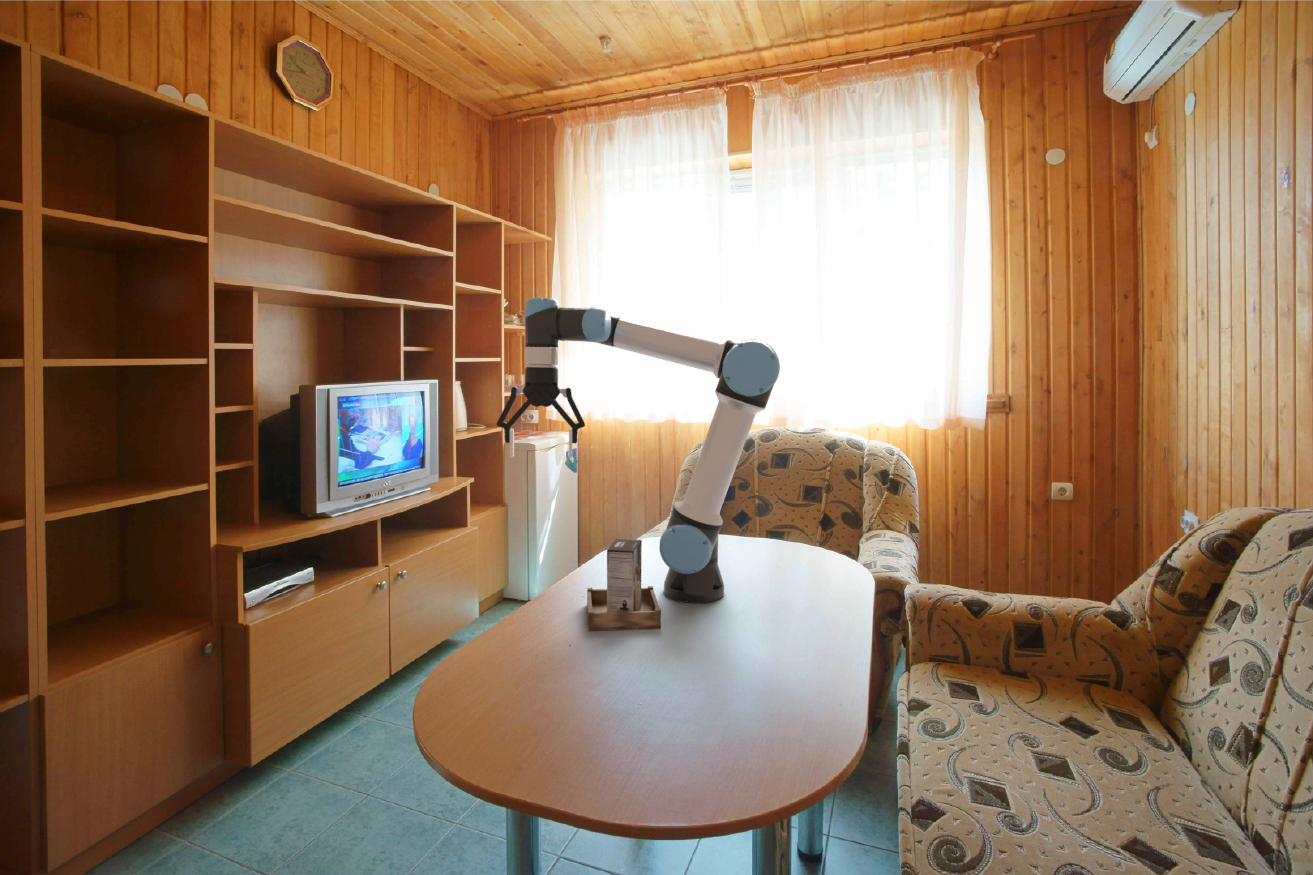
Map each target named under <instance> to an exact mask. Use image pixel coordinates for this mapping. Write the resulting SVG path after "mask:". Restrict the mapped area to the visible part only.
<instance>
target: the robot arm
mask: <svg viewBox="0 0 1313 875" xmlns="http://www.w3.org/2000/svg"><path fill="white" fill-rule="evenodd" d="M524 330H525V331H524V334H525V335H524V337H525V338H524V339H525V340H524V341H525V344H524V346H525V347H524V364H525V365H527V367H525V368H524V369H525V370H524V374H525V375H524V387H517V386H512V387H511V389H510V396H509V398H508V401H507V402H506V404H505V405H504V408H503V410H502V412H501V414H500V416H499V417H498V420H497V422H496V426H497V427H500V428H502V429H504V442H505V444H509V458H511V459H513V458H514V456H515V428H512V426H513V425H514V424H515V422H516V421H517V420H518V419H520V417H521V416H522V414H524V413H525V412H526V410H527V409H528V408H529V407H530V406H533V407H536V408H537V407H545V408H548V407H551V406H552V407H553V408H554V409H555V410H556V411H557V412H558V414H560V416H561V417H562V419H564V421H565V422H566V424H568V425H569V426H570V427H571V428H570V429H568V458H569V459H573V444H577V443H578V430H580V429H582V428H584V427H585V426H586V424H585V420H584V419H583V417H582V415H581V412H580V410H579V409H578V407H577V404H576V403H575V401H574V398H573V395H572V388H571V387H566V388H559V369H558V367H557V366H558V364H559V341H561V342H562V341H563V342H570V341H571V342H587V343H597V344H600V345H605V346H609V347H612V348H618V349H620V350H621V349H622V350H624V351H628V352H632V353H636V354H640V355H644V356H648V357H652V358H656V359H660V360H663V361H668V362H671V363H675V364H679V365H682V366H686V367H691V368H694V369H698V370H702V371H706V372H710V373H713V375H714V377H715V378H716V379H718V382H717V385H716V387H715V391H714V392H715V394H716V397H717V400H718V401H717V403H718V404H717V406H716V408H715V411H714V414H713V417H712V418H711V419H712V420H711V422H710V424H709V427H708V430H707V433H706V435H705V439H704V442H703V445H702V448H701V451H700V453H699V456H698V459H697V461H696V465H695V466H694V467H695V468H694V470H693V473H692V475H691V478H690V481H689V484H688V486H687V490H686V493H685V495H684V498H683V500H680V501H677V502H674V503H673V505H672V506H671V507H672V509H671V512H670V514H671V515H670V518H669V520H668V522H667V526H666V528H665V530H664V532H663V533H662V535H661V536H660V540H659V554H660V557H661V559H662V561H663V562H664V564H665V565H666V566H667V567H668V570H667V572H666V573H667V574H666V575H665V579H664V584H663V593H664V595H665V596H666V597H667V598H670V599H672V600H674V601H677V602H684V603H691V604H692V603H697V604H698V603H710V602H714V601H717V600H720V599H721V598H723V597H724V595H725V584H724V580H723V576H722V574H721V570H720V566H719V563H718V562H719V560H718V559H719V558H718V557H719V534H720V531H721V529H722V526H723V522H724V520H723V518H722V516H721V514H720V513H721V509H722V506H723V505H724V501H725V498H726V496H727V492H728V490H729V487H730V484H731V482H732V481H733V480H732V479H733V477H734V475H735V471H736V468H737V466H738V463H739V460H740V458H741V455H742V452H743V449H744V447H745V444H746V442H747V439H748V436H749V433H750V430H751V428H752V425H753V423H754V420H755V416H756V414H758V413H760V412H762V411H764V410H765V409H766V407H767V404H768V402H769V399H770V396H771V394H772V391H773V388H774V386H775V383H776V382H777V381H778V380H777V379H778V377H779V375H780V370H781V369H780V368H781V366H780V360H779V359H780V358H779V357H778V354H777V353H776V351H775V349H774V348H773V347H772V346H771V345H769V344H768V343H766V342H764V341H762V340H757V339H746V340H745V339H744V340H741V341H740V340H739V341H738V340H735V339H734V340H733V339H729V338H725V339H724V340H721V341H720V340H716V339H711V338H708V337H703V336H699V335H695V334H692V333H687V332H684V331H679V330H675V329H672V328H667V327H663V326H659V325H656V324H651V323H647V322H643V321H639V320H635V319H631V318H628V317H624V316H623V317H621V316H619V315H614V314H610V311H609V310H608V309H607V308H603V307H602V308H601V307H595V306H594V307H561V306H560V304H559V301H558V300H557V299H556V298H550V297H549V298H548V297H532V298H528V299H527V300H526V302H525V312H524ZM522 393H523V395H524V396H525V398H526V400H525V402H524V403H523V404H522V405H521V406H520V408H519V409H518V410H517V411H515V414H514V415H513V416H512V417H511V418H510V419H509V421H507V422H505V420H506V419H507V417H508V415H509V413H510V411H511V408H512V407H513V405H514V402H515V401H516V399H517V398H518V397H520V396H521V394H522ZM560 394H561V395H562V397H564V398H566V399H567V402H568V404H569V407H570V408H571V410H572V412H573V414H574V416H575V418H576V420H577V422H575V421H574V420H573V419H572V417H571V416H570V415H569V414H568V413H567V411H566V410H565V409H564V408H563V407H562V405H561V404H560V402H558V400H556V399H557V398H558V397H559V395H560Z"/></svg>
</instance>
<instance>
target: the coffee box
mask: <svg viewBox="0 0 1313 875" xmlns="http://www.w3.org/2000/svg"><path fill="white" fill-rule="evenodd" d="M642 540H643V539H628V538H627V539H624V538H623V539H622V538H621V539H620V538H615V539H614V541H613V542H612V543H611V545H610V546H609V547H608V548H607V549H606V589H607V612H629V611H639V609H640V607H641V588H642V548H643V547H642V546H643V544H642Z"/></svg>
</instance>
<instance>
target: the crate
mask: <svg viewBox="0 0 1313 875" xmlns="http://www.w3.org/2000/svg"><path fill="white" fill-rule="evenodd" d="M586 592H587V593H586V594H587V595H586V600H587V602H586V603H587V604H586V607H587V623H588V624H587V627H588V632H605V631H628V630H629V631H630V630H632V631H634V630H636V631H637V630H658V629H659V630H660V629H661V628H662V626H661V625H662V620H661V618H662V610H661V608H660V605H659V603H658V602H659V601H658V599H657V597H656V594H655V591H654V586H653V585H649V586H648V585H647V587H641V607H640V609H639V611H629V612H607V588H595V589H594V588H593V587H587V590H586Z"/></svg>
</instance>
